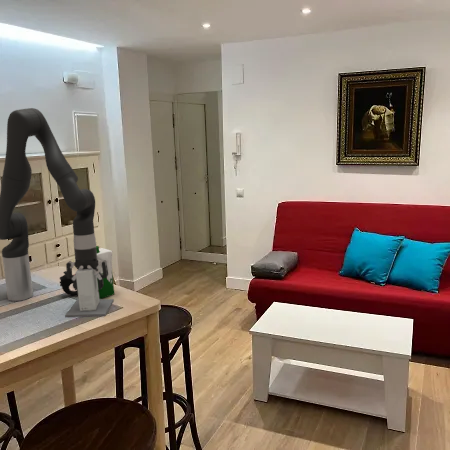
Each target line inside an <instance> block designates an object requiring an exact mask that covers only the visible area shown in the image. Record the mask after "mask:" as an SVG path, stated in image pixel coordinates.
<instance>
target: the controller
mask: <svg viewBox="0 0 450 450" xmlns="http://www.w3.org/2000/svg"><path fill="white" fill-rule="evenodd" d="M63 274H64V275H62V276H59V280H60V281H59V286H60V287H61V288H62V290H63V292H64V293H65V294H67V295H68V296H73V297H75V296H76V297H77V296H78V290H71V289H70V286H71V285H73V281H72V279H67V270H65V271H63ZM73 275H75V273H74V274H73Z"/></svg>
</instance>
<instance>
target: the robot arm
mask: <svg viewBox="0 0 450 450" xmlns="http://www.w3.org/2000/svg"><path fill="white" fill-rule="evenodd" d="M6 125H7V126H6V150H5V157H4V159H5V161H4V166H3V171H2V178H1V186H0V241H1V240H2V241H5V240H10V239H12V240H11V241H10V242H9V243H8V244H7V245H6V246H4V247H3V248H2V249H1V258H2V264H3V272H4V279H5V280H4V281H5V288H6V296H7V300H8V301H11V302H12V301H13V302H15V301H16V302H19V301H25V300H28V299H30V298H32V297H33V296H34V291H33V283H32V274H31V273H32V272H31V263H30V256H29V247H30V243H29V240H30V239H29V226H28V222H27V218H26V216H25V215H24V214H23V213H21V212H14V210H15V208H16V207H17V205H18V204H19V202H20V201H21V200H22V199H23V198H24V197H25V195H26V194H27V192H28V191H29V189H30V186H31V180H32V173H33V172H32V171H33V170H32V167H31V164H30V162H29V160H28V159H29V158H27V154H26V148H27V143H28V140H29V139H28V138H31V137H35V138H36V139H37V140H38V143H40V144H41V146H42V149H43V152H44V153H43V154H44V157H45V158H44V159H45V164H46V167H47V170H48V171H49V174H50V176H51V177H52V178H53V180H54V181H55V182H56V184H57V186H59V189H60V193H61V195H62V197H63V200H64V203H65V205H67V207H68V208H70V210H72V211H73V212H76V216H75V217H74V218H73V219H72V230H73V249H74V261H71V260H69V261H67V262H66V265H65V267H66V270H65V271H67V279H72V281H73V283H72V288H73V289H74V291H77V290H78V289H77V280H76V272H75V273H74V274H75V275H74V274H73V268H74V267H75V268H76V270H82V269H93V274H94V275H95V276H97V278H98V279H99V280H98V284H99V290H100V289H102V288H103V286H104V282H103V278H107V276H108V268H107V261H106V260H104V261H100V262H98V260H97V250H96V246H97V241H96V240H97V239H96V234H95V226H94V225H95V224H94V218H95V211H96V198H95V194H94V193H93V191H91V190H90V189H88V188H81V189H80V188H79V186H78V184H77V183H78V181H79V178H78V176H77V174H76V172H75V170H74V169H73V168H72V166H71V164H70V163H69V162H68V160H67V159H66V157H65V156H64V154H63V152H62V150H61V149H60V146H59V144H58V142H57V140H56V138H55V136H54V133H53V131H52V129H51V128H50V125H49V123H48V121H47V119H46V118H45V116H44V114H43V113H42V112H41V111H40V110H39V109H37V108H33V107H31V108H29V107H28V108H21V109H15V110H13V111H12V112H10V114H9V116H8V118H7V124H6ZM13 212H14V213H13ZM98 265H100V267H102V270H103V274H102V273H101V272H100V270H99V269H98V268H97V266H98Z"/></svg>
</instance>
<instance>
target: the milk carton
mask: <svg viewBox="0 0 450 450" xmlns="http://www.w3.org/2000/svg"><path fill="white" fill-rule="evenodd" d="M96 250H97V260H98V262H100V261H104V260H106V261H107V268H108V276H107V278H103V282H104V286H103V288H102V289H100V290H99V284H98V291H99V299H106V297H110V296H113V295H115V286H114V274H113V273H114V272H113V262H112V261H113V250H110V249H108V248H104V247H99V245H96ZM97 268H98V269H99V270H100V272H101V273H102V274H103V270H102V267H100V265H98V266H97ZM98 280H99V279H98V278H97V281H98Z"/></svg>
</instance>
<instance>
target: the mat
mask: <svg viewBox="0 0 450 450" xmlns="http://www.w3.org/2000/svg"><path fill="white" fill-rule="evenodd" d="M99 300H100V302H99V304H98V306H97V308H96V310H93V311H80V307H79V299H76V300H75V302H74V303H73V304H72V305H71V306H70V307H69V309H68V311H67V312H66V313H65V315H64V317H65V318H81V317H82V318H83V317H106V316H107V314H108V313H109V310H110V309H111V307H112V304H113V303H114V301H115V300H114V298H110V299H109V298H102V299H99Z"/></svg>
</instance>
